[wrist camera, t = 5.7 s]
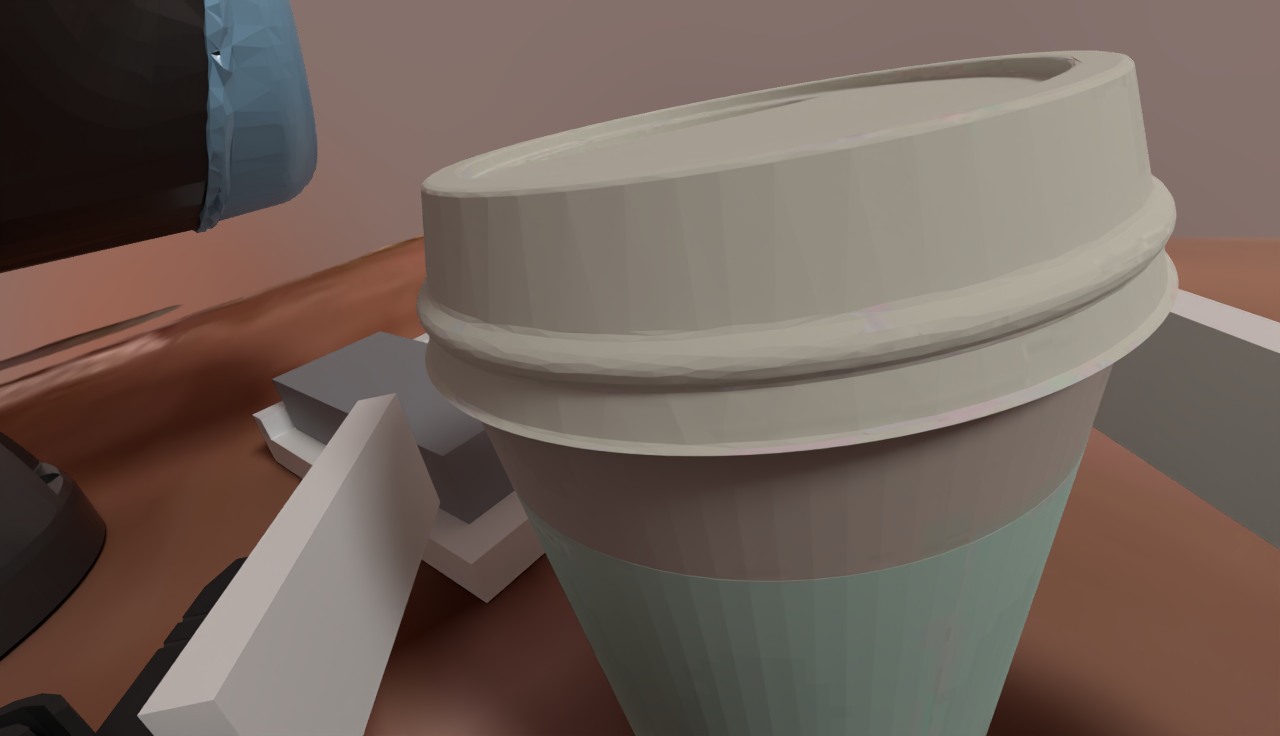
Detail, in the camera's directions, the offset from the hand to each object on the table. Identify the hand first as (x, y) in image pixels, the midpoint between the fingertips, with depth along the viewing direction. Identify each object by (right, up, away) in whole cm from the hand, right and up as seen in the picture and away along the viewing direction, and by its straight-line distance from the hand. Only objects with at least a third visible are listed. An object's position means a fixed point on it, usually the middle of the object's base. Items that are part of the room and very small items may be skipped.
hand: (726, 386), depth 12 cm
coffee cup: (+2, -7, 0) cm, 8 cm away
